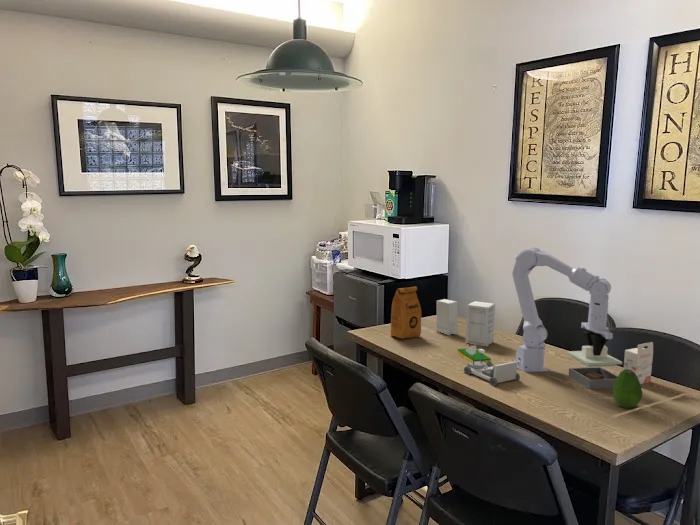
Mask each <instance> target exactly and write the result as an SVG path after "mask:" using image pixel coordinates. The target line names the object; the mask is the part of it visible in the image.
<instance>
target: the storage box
mask: <svg viewBox="0 0 700 525" xmlns="http://www.w3.org/2000/svg"><path fill="white" fill-rule="evenodd" d="M592 372H595V373H598V374H601V375H603V376H604V379H596V380H590V379H588V378H587V377H586V374H588V373H592ZM568 377H569V378H570V379H572V380H573V381H576V382H577V383H579V384H580V385H582V386H584V387H585V388H586V389H588V390H596V389H598V390H599V389H600V390H601V389H613V385H614V383H615V381H616V379H617V377H618V375H616V374H614V373H612V372H611V371H608V370H607V369H606V368H603V367H602V366H601V367H588V366H586V367H570V368H569V369H568Z"/></svg>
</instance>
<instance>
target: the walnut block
mask: <svg viewBox="0 0 700 525" xmlns="http://www.w3.org/2000/svg"><path fill="white" fill-rule="evenodd" d="M586 377H587V378H588V379H590V380H596V379H604V376H603V375H601V374H598V373H595V372H592V373H588V374H586Z"/></svg>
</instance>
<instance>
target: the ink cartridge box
mask: <svg viewBox="0 0 700 525" xmlns="http://www.w3.org/2000/svg"><path fill="white" fill-rule="evenodd" d="M645 347H646V348H645ZM623 358H624V359H623V360H624V361H623V370H625V369H628V370H631V371H633V372H634V373H635V374H636V376H637V378H638V380H639V382H640V385H643V384H647V383H651V379H652V370H653V368H652V367H653V358H654V342H653V341H650V342H645V343H641V344H640V343H639V344H637V347H635V348H629V349H625V350H624V357H623Z"/></svg>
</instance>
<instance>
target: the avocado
mask: <svg viewBox="0 0 700 525" xmlns="http://www.w3.org/2000/svg"><path fill="white" fill-rule="evenodd" d="M617 376H618V377H617V379H616V381H615V383H614V385H613V388H612V395H613V399H614V401H615V403H616V404H617V405H618V407H619V406H620V408H621V407H622V408H625V409H631V408H634V407H636V406H637V405H638V404H639V403H640V402H641V400H642V398H643V389H642V384H640V382H639V380H638V378H637V376H636V374H635V373H634V372H633V371H631V370H628V369H625V370H624V369H623V370H621V371H620V372H619V374H618V375H617Z"/></svg>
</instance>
